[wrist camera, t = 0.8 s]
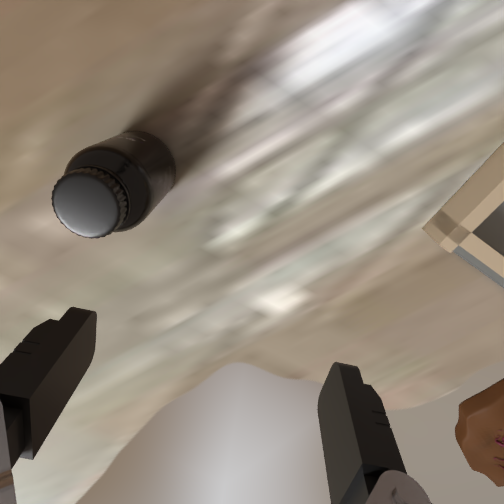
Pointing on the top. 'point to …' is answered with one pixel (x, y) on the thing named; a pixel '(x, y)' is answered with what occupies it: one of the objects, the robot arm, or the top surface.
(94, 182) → the supplement bottle
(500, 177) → the tray
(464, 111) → the top surface
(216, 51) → the top surface
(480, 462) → the brown rough-edged lump
